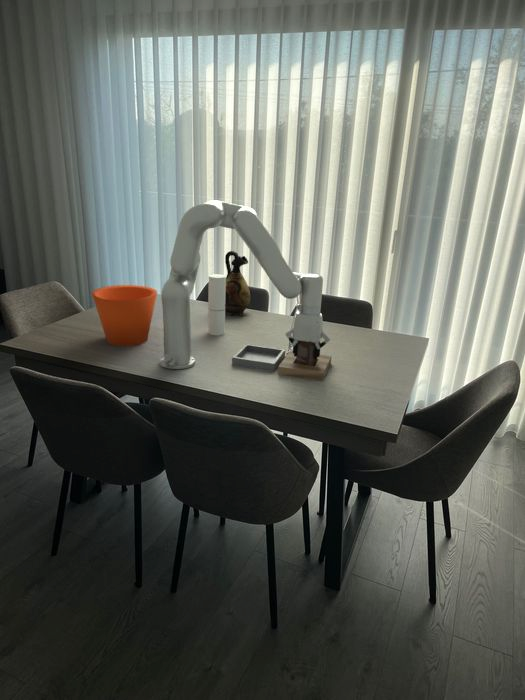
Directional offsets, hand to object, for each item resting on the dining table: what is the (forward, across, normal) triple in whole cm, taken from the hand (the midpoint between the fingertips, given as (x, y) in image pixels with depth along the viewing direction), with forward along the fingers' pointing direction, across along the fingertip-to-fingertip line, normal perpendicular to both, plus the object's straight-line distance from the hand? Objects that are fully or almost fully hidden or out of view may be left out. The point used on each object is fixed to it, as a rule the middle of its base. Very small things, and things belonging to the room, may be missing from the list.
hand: (305, 356), depth 186 cm
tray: (+5, -18, +1) cm, 19 cm away
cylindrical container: (+5, -45, +26) cm, 52 cm away
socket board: (+5, 0, 0) cm, 5 cm away
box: (+5, 0, 0) cm, 5 cm away
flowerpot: (+5, -75, +3) cm, 75 cm away
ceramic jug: (+5, -49, +59) cm, 77 cm away
